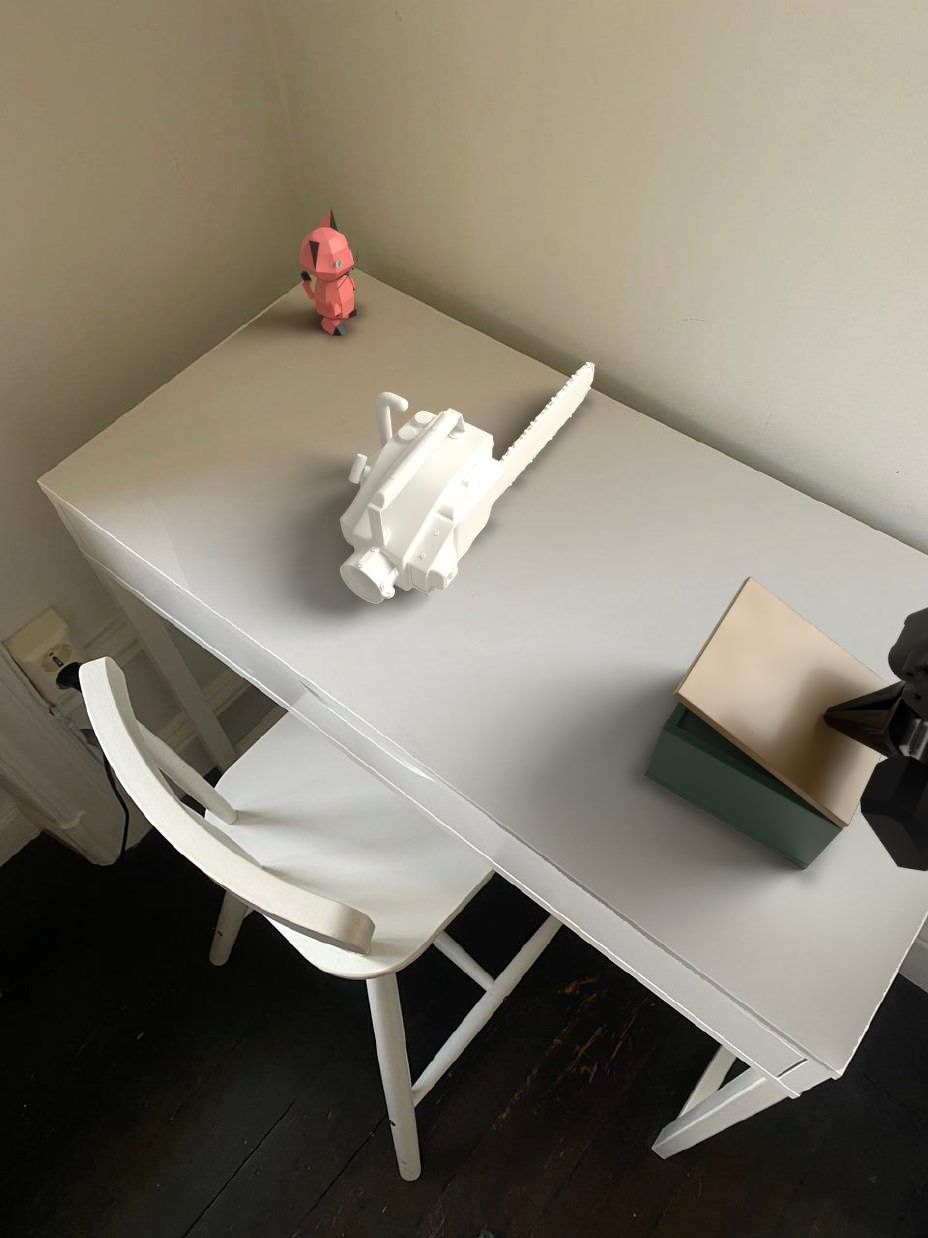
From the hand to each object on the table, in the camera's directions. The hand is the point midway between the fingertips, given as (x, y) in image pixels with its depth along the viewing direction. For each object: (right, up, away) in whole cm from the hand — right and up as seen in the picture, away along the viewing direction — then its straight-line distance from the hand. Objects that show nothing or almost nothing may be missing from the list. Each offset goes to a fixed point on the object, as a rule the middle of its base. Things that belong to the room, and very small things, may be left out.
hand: (827, 717), depth 63 cm
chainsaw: (-25, +21, +27) cm, 42 cm away
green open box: (-2, -5, +10) cm, 11 cm away
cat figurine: (-40, +41, +40) cm, 70 cm away
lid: (-2, +1, +1) cm, 3 cm away
